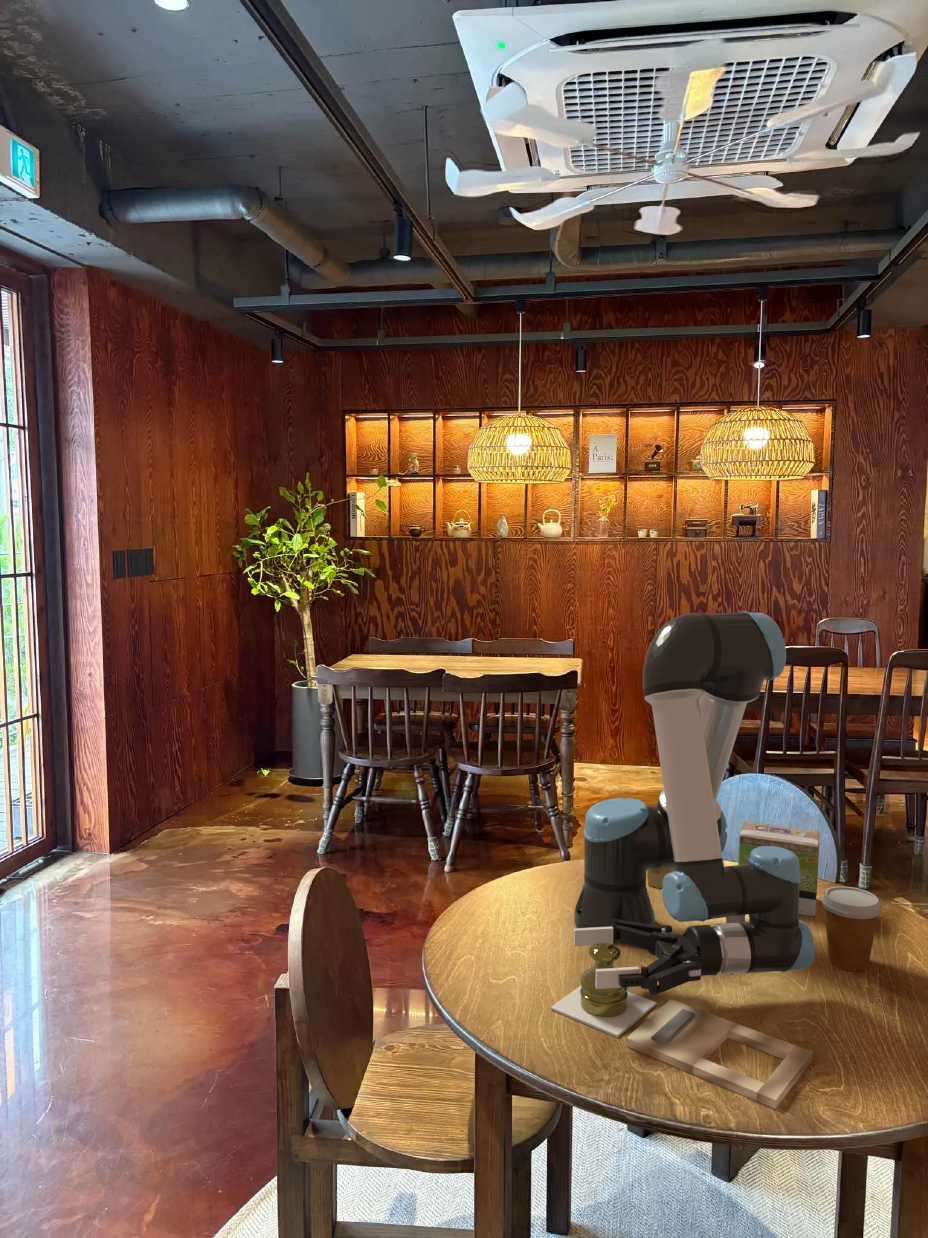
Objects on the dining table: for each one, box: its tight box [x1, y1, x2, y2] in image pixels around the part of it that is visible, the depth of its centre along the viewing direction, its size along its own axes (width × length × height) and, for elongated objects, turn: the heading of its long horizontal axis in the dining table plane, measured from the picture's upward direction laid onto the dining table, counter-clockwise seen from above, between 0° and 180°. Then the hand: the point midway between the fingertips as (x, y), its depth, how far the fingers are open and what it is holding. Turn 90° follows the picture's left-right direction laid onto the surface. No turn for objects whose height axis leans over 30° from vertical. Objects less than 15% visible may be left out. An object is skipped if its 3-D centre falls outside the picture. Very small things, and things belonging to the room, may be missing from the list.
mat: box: [550, 985, 657, 1038], centre depth 139 cm, size 12×12×1 cm
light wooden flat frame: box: [625, 998, 814, 1110], centre depth 127 cm, size 22×14×2 cm, turn 50°
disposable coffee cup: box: [821, 885, 882, 972], centre depth 153 cm, size 10×10×12 cm
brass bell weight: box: [579, 942, 628, 1017], centre depth 138 cm, size 7×7×10 cm
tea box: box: [737, 820, 820, 917], centre depth 178 cm, size 15×10×15 cm, turn 68°
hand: (584, 957), depth 138 cm, fingers open, 13 cm apart
